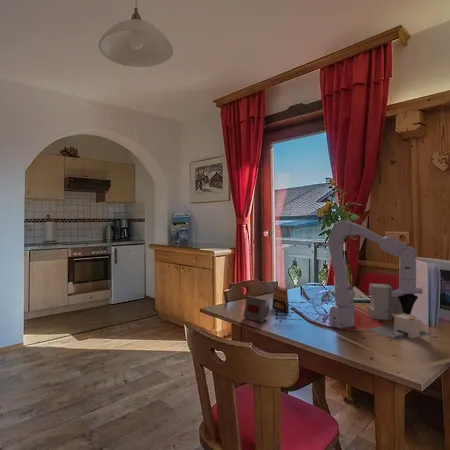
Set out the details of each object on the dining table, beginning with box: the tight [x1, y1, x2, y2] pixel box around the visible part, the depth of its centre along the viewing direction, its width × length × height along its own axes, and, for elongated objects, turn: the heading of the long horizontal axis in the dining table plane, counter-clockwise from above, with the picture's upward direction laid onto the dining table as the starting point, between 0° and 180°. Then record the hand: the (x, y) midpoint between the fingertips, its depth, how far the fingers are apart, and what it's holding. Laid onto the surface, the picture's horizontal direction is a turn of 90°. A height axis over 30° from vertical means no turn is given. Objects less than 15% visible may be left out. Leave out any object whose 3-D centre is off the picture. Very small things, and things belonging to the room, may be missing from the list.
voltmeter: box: [243, 295, 306, 324], centre depth 145 cm, size 27×11×10 cm, turn 80°
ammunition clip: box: [271, 284, 290, 315], centre depth 161 cm, size 11×2×12 cm, turn 28°
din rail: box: [387, 328, 426, 340], centre depth 126 cm, size 17×3×1 cm, turn 114°
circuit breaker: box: [367, 283, 404, 321], centre depth 148 cm, size 8×14×15 cm, turn 78°
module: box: [393, 314, 421, 339], centre depth 126 cm, size 4×7×7 cm, turn 24°
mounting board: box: [367, 324, 432, 342], centre depth 129 cm, size 18×14×1 cm
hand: (406, 313), depth 126 cm, fingers closed
